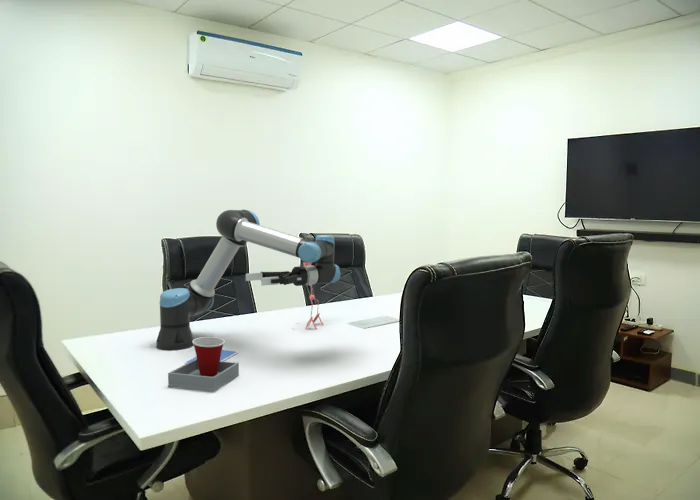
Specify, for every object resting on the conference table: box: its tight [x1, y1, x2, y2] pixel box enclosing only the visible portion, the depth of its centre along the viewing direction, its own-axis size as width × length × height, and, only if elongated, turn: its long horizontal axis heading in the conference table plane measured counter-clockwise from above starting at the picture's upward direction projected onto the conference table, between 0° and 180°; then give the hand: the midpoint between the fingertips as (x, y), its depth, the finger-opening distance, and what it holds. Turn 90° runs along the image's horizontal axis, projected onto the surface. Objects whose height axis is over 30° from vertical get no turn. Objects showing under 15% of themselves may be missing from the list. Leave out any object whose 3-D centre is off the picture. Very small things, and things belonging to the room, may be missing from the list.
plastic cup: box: [192, 336, 226, 377], centre depth 174 cm, size 11×11×12 cm
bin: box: [167, 359, 240, 393], centre depth 171 cm, size 17×17×4 cm
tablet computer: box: [184, 349, 239, 365], centre depth 197 cm, size 19×13×1 cm, turn 164°
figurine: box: [292, 261, 324, 331], centre depth 251 cm, size 15×26×35 cm, turn 163°
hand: (253, 279), depth 187 cm, fingers open, 13 cm apart
